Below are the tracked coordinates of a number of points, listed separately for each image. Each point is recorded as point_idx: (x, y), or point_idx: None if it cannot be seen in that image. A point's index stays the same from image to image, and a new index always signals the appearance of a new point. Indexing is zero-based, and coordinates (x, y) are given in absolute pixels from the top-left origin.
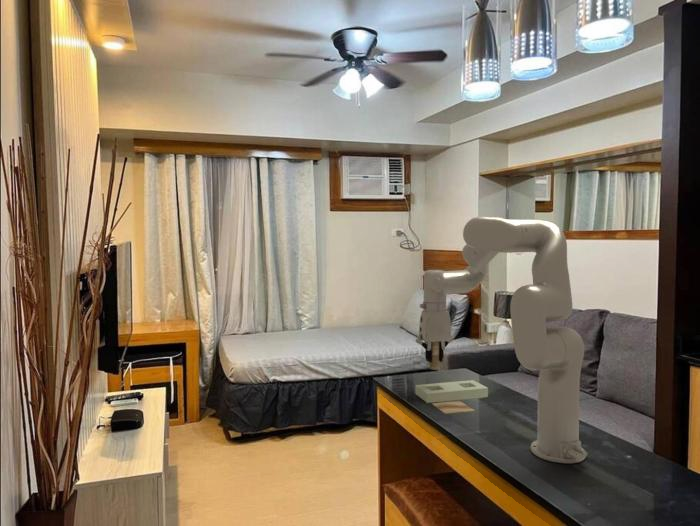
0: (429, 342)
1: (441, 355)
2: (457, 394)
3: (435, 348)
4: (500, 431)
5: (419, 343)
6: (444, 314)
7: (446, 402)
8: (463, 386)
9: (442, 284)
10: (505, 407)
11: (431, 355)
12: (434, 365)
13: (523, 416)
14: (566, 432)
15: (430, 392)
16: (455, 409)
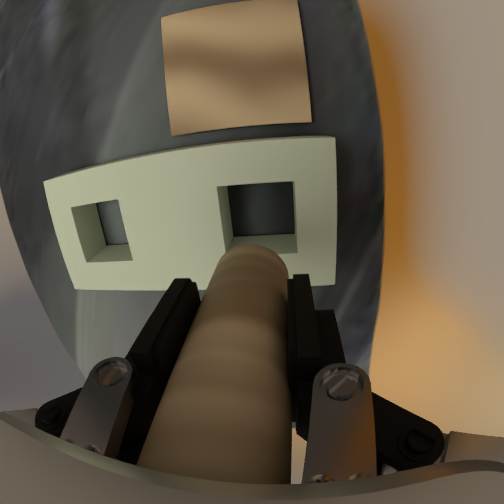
0: (346, 479)
1: (166, 311)
2: (167, 151)
3: (228, 385)
4: None
5: (480, 440)
6: None
7: (237, 121)
8: (116, 255)
9: None
10: (53, 83)
11: (299, 314)
12: (260, 262)
13: (51, 13)
14: None
15: (311, 152)
16: (233, 31)
